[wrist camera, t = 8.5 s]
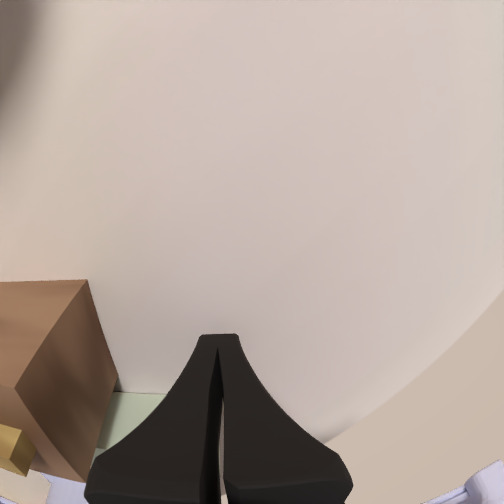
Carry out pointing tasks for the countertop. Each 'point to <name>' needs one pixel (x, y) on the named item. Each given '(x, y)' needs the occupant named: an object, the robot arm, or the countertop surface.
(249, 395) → the robot arm
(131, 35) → the countertop surface
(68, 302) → the cabinet block
